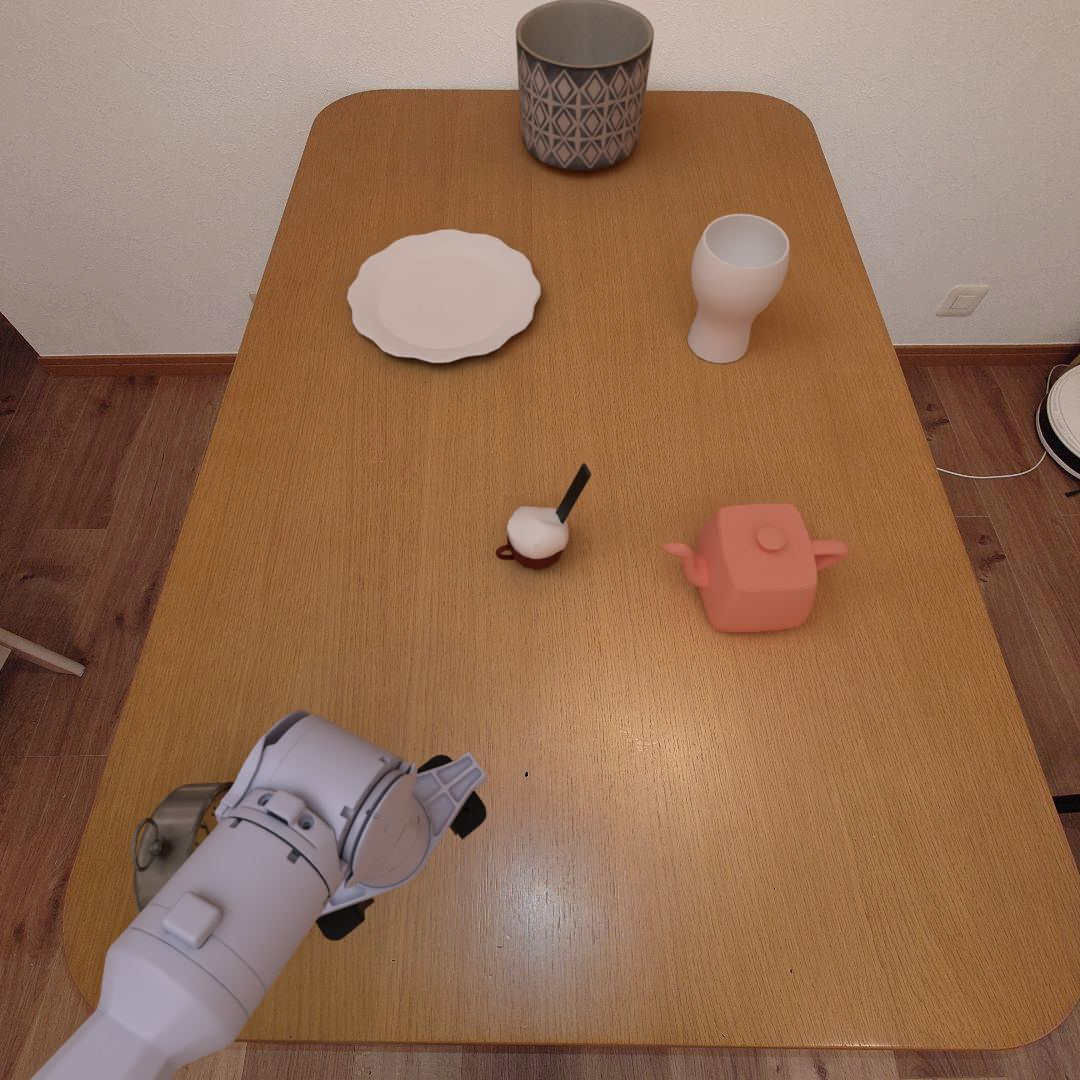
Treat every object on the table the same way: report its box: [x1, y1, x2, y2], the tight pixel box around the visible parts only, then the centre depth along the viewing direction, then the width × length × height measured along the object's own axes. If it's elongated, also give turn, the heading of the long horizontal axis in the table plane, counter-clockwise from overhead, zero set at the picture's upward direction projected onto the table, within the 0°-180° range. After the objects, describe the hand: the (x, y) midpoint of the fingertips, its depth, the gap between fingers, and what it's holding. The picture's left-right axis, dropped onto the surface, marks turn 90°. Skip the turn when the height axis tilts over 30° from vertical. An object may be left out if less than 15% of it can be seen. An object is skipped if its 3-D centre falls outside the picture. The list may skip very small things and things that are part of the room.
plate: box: [346, 229, 542, 365], centre depth 95 cm, size 25×25×2 cm
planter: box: [515, 0, 655, 172], centre depth 107 cm, size 19×19×16 cm
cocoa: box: [495, 462, 592, 571], centre depth 71 cm, size 10×6×12 cm, turn 92°
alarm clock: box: [130, 781, 235, 916], centre depth 54 cm, size 11×5×16 cm, turn 1°
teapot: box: [662, 502, 850, 633], centre depth 69 cm, size 11×18×10 cm, turn 93°
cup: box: [687, 213, 791, 364], centre depth 85 cm, size 11×11×15 cm
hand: (408, 855), depth 52 cm, fingers open, 7 cm apart
